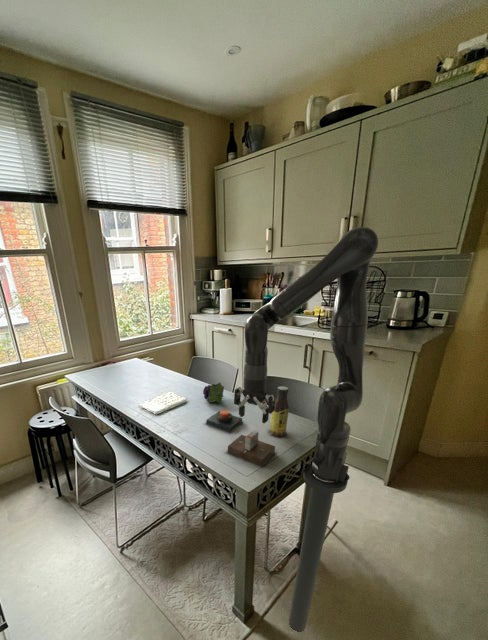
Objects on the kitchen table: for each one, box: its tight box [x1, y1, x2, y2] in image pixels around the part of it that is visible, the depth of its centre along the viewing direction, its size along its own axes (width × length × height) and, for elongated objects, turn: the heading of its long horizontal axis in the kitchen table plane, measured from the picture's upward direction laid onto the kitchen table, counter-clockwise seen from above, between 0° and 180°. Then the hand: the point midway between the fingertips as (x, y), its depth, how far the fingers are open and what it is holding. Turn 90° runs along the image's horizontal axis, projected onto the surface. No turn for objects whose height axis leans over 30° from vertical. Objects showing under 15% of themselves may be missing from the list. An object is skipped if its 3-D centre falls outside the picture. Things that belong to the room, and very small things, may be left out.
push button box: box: [205, 410, 243, 433], centre depth 137 cm, size 12×10×4 cm
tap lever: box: [245, 429, 259, 451], centre depth 114 cm, size 6×2×5 cm, turn 141°
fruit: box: [202, 382, 225, 404], centre depth 156 cm, size 10×11×15 cm
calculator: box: [139, 391, 187, 415], centre depth 156 cm, size 13×20×2 cm, turn 132°
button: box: [220, 410, 230, 418], centre depth 135 cm, size 4×4×2 cm
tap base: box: [227, 434, 276, 467], centre depth 116 cm, size 14×10×3 cm
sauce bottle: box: [269, 385, 290, 437], centre depth 125 cm, size 7×6×20 cm
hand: (253, 419), depth 110 cm, fingers open, 8 cm apart
